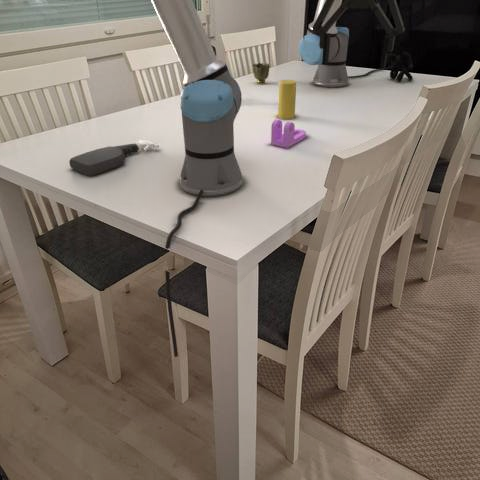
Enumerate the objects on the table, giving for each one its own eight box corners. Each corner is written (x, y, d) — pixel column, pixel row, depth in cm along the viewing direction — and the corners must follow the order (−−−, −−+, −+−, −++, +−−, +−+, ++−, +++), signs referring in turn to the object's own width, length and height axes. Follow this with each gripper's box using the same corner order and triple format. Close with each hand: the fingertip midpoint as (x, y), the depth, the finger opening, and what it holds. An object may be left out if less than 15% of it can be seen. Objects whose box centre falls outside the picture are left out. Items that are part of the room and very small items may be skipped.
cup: (250, 84, 198) (249, 65, 194) (257, 80, 204) (257, 62, 200) (265, 85, 195) (265, 66, 191) (272, 82, 201) (272, 63, 197)
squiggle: (400, 92, 202) (376, 71, 205) (417, 76, 202) (392, 56, 205) (405, 81, 191) (380, 59, 194) (423, 64, 191) (397, 42, 194)
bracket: (287, 148, 130) (288, 124, 126) (271, 144, 133) (271, 121, 129) (309, 135, 139) (310, 113, 135) (293, 132, 142) (294, 110, 138)
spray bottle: (67, 168, 120) (139, 144, 136) (91, 178, 114) (163, 151, 130) (65, 157, 118) (137, 134, 134) (89, 167, 112) (162, 142, 128)
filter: (220, 99, 177) (217, 15, 161) (206, 100, 176) (202, 16, 160) (215, 96, 182) (212, 14, 166) (202, 97, 180) (197, 14, 164)
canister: (290, 113, 160) (291, 79, 153) (297, 118, 155) (299, 82, 149) (275, 115, 158) (276, 80, 152) (282, 120, 153) (283, 84, 147)
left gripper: (429, -43, 92) (410, 65, 103) (313, -40, 101) (307, 59, 112) (425, -43, 86) (406, 72, 97) (302, -40, 95) (297, 64, 107)
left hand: (353, 65), depth 105 cm, fingers open, 13 cm apart
